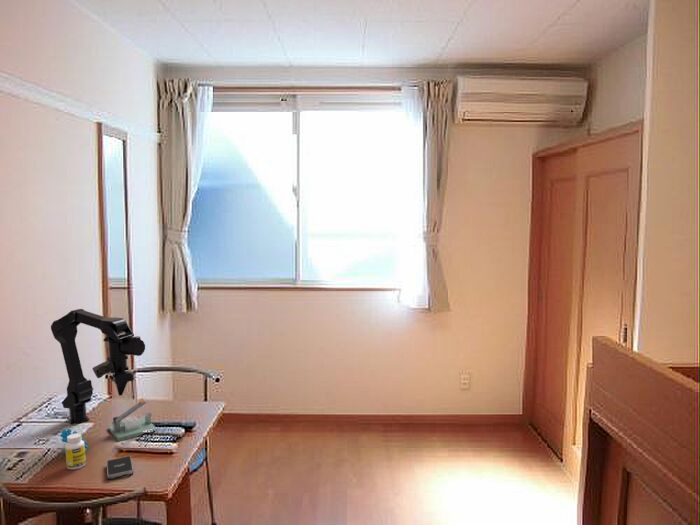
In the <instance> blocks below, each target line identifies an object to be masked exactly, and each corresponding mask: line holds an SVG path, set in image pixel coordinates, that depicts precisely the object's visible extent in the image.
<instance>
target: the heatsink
mask: <svg viewBox="0 0 700 525" xmlns="http://www.w3.org/2000/svg"><path fill="white" fill-rule="evenodd" d="M121 427H122V428H123V429H124V430H125V431H130V430H134V429H138V428H140V420H139V419H138V417H137V416H136V415H131V416H127V417H126V418H124V419H123V420H121Z"/></svg>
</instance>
